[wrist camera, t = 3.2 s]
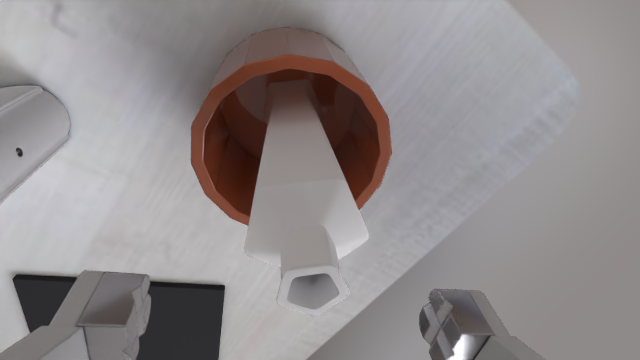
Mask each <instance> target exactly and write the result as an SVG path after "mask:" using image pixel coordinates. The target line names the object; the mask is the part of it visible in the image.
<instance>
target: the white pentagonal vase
mask: <svg viewBox="0 0 640 360" xmlns="http://www.w3.org/2000/svg"><path fill="white" fill-rule="evenodd" d="M322 113H323V111H322V108H321V106H320V104H319V101H318V99H317V97H316V94H315V92H314V90H313V87H312V85H311V83H310V81H309V80H307V79H302V80H293V81H283V82H274V83H270V84H269V86H268V90H267V96H266V102H265V108H264V114H263V119H264V121H265V122H266V124H267V125H268V126H267V131H266V136H265V141H264V146H263V151H262V157H261V162H260V167H259V172H258V177H257V182H256V187H255V192H254V198H253V203H252V209H251V215H250V220H249V226H248V231H247V237H246V242H245V248H244V252H245V254H246V255H247V256H249V257H252V258H255V259H257V260H260V261H263V262H266V263H269V264H272V265H274V266H277V267H280V268H281V284H280V287H279V291H278V295H277V303H278V305H279V306H282V307H284V308H287V309H291V310H294V311H297V312H300V313H303V314H307V315H311V316H317V315H320V314H322V313H323V312H325V311H327V310H328V309H330V308H331V307H333V306H334V305H336V304H337V303H339V302H341V301H342V300H344V299H345V298H346V297H347V296H348V295H349V292H350V291H349V288H348V286H347V284H346V283H345V281H344V279H343V277H342V275H341V271H340V267H339V262H338V260H340V259H341V258H343V257H344V256H346V255H347V254H349V253H350V252H352V251H353V250H354V249H356V248H357V247H359V246H360V245H362V244H363V243H365V242H366V241H367V240H368V239H369V232H368V230H367V228H366V226H365V223H364V221H363V219H362V216H361V214H360V212H359V209H358V207H357V205H356V203H355V200H354V198H353V196H352V193H351V191H350V189H349V186H348V184H347V182H346V180H345V177H344V175H343V173H342V170H341V168H340V166H339V163H338V161H337V159H336V157H335V154H334V152H333V150H332V147H331V145H330V143H329V140H328V138H327V136H326V133H325V131H324V129H323V127H322V124H321V122H320V118H321V116H322Z"/></svg>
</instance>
